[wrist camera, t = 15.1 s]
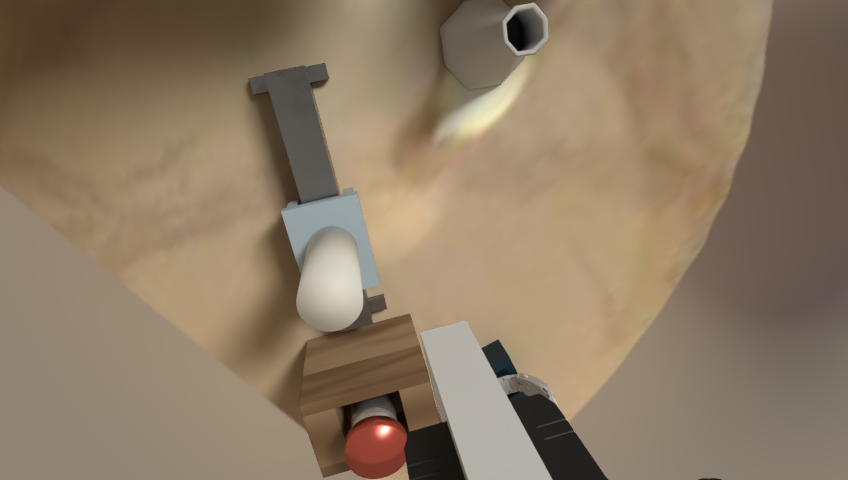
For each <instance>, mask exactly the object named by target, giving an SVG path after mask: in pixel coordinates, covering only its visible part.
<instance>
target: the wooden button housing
mask: <svg viewBox="0 0 848 480" xmlns="http://www.w3.org/2000/svg"><path fill="white" fill-rule="evenodd" d="M388 393H392V394H393V399H394V405H395V410H396V416H397V421H398V422H400V423H401V424H402V426H403V427H404V429H405V431H406V435H407V437H408V434H409V432H410V431H413V430H417V429H421V428H424V427H428V426H431V425H435V424H438V423H440V422H439V418H438V413H437V409H436V405H435V401H434V396H433V392H432V388H431V383H430V379H429V375H428V371H427V367H426V364H425V361H424V358H423V354H422V351H421V348H420V345H419V342H418V338H417V335H416V332H415V329H414V325H413V322H412V319H411V316H410V314H407V315H403V316H399V317H395V318H391V319H388V320H384V321H380V322H376V323H373V324H370V325H366V326H362V327H358V328H355V329H351V330H347V331H343V332H338V333H334V334H330V335H326V336H322V337H319V338H315V339H311V340H307V347H306V354H305V362H304V369H303V377H302V385H301V392H300V400H299V409H300V412H301V415H302V418H303V421H304V423H305V426H306V429H307V432H308V435H309V438H310V440H311V444H312V446H313V449H314V452H315V455H316V458H317V461H318V464H319V466H320V469H321V472H322V475H323V477H328V476H331V475H335V474H338V473H341V472H345V471H349V470H351V469H350V468H349V467H348V465H347V463H346V459H345V439H346V436H347V434H348V432H349V430H350V429H351V404H352V403H355V402H359V401H363V400H366V399H370V398H374V397H377V396H381V395H384V394H388Z"/></svg>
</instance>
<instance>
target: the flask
mask: <svg viewBox="0 0 848 480" xmlns="http://www.w3.org/2000/svg"><path fill="white" fill-rule="evenodd" d="M440 35H441V42H442V49H443V56H444V63H445V66H446V67H447V68H448V69H449V70H450V71H451V72H452V74H453V75H454V76H455V77H456V78H457V79H458V80H459V81H460V82H461V83H462V84H463V85H464V86H465V87H466V88H467V89H468V90H473V89H479V88H484V87H490V86H495V85H501V84H502V82H503V81H504V80H505V79H506V78H507V77H508V76H509V75H510V74H511V73H512V72H513V71H514V69H515V68H516V67H517V66H518V65H519V64H520V63H521V62H522V61H523V60H524V58H525V56H528V55H534V54H536V53H537V51H538V50H539V49H540V48H541V47H542V46H543V45H544V44H545V43H546V42H547V41H548V40H549V34H548V20H547V17H546V16H545V15H544V13H543V12H542V11H541V10H540V8H539V7H538V6H537V5H536V4H535V3H529V4H523V5H516V6H514V7H513V8H512V9H511V8H510V7H509V6H507V5H506V4H505V2H504V1H503V0H466V1H463V2H462V4H461V5H460V6H459V7H458V8H457V9H456V10H455V11H454V13H453V14H452V15H451V16H450V17H449V18H448V19H447V20H446V22H445V23H444V24H443V25H442V26H441V27H440Z"/></svg>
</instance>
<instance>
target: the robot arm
mask: <svg viewBox="0 0 848 480" xmlns="http://www.w3.org/2000/svg"><path fill="white" fill-rule="evenodd" d="M420 335H421V339H422V344H423V348H424V352H425V357H426V361H427V365H428V370H429V374H430V378H431V383H432V387H433V391H434V396H435V400H436V404H437V407H438V411H439V414H440V417H441V420H442V423H438V424H435V425H431V426H428V427H424V428H421V429H417V430H413V431H410V432H409V434H408V437H407V440H406V443H405V446H404V452H405V458H406V463H407V469H408V475H409V480H608V479H607V478H606V477H605V475H604V474H603V472H602V471H601V469H600V468H599V466H598V465H597V463H596V462H595V461H594V459H593V458H592V456H591V455H590V453H589V452H588V450H587V449H586V448H585V446H584V445H583V443H582V442H581V440H580V439H579V437H578V436H577V434H576V433H575V432H574V431H573V428H572V427H571V426H570V424H569V423H568V421H567V420H566V419H565V417H564V415H563V414H562V412H561V411H560V410H559V408H558V407H557V405H556V404H555V403H554V402H552V401H551V400H549V399H548V398H546V397H544V396H543V395H541V394H540V393H539V394H535V395H532V396H528V397H524V398H521V399H517V400H514V401H509V399H508V397H507V395H506V393H505V392H504V390H503V388H502V386H501V384H500V382H499V381H498V379H497V377H496V375H495V373H494V371H493V369H492V368H491V366H490V364H489V362H488V360H487V358H486V357H485V355H484V353H483V351H482V349H481V347H480V346H479V344H478V342H477V340H476V338H475V336H474V335H473V333H472V331H471V329H470V327H469V325H468V324H467V322H466V320H465V321H462V322H458V323H454V324H450V325H447V326H443V327H439V328H435V329H432V330H428V331H424V332H420ZM699 480H721V479H715V478H711V479H699Z"/></svg>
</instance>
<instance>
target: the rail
mask: <svg viewBox="0 0 848 480" xmlns="http://www.w3.org/2000/svg"><path fill="white" fill-rule="evenodd" d="M326 79H329V76H328V73H327V69H326V65H325V63H322V64H317V65H312V66H307V67H306V66H299V67H294V68H289V69H284V70H279V71H274V72H270V73H265V74H264V76H259V77H254V78H249V82H250V85H251V89H252V92H253V95H254V94H260V93H264V92H269V94H270V98H271V101H272V104H273V108H274V111H275V115H276V118H277V121H278V125H279V128H280V132H281V135H282V138H283V142H284V145H285V149H286V152H287V155H288V159H289V162H290V166H291V169H292V172H293V176H294V179H295V183H296V186H297V189H298V193H299V196H300V200H301V203H302V204H305V203H309V202H313V201H318V200H322V199H326V198H330V197H335V196H339V195H340V191H339V187H338V184H337V180H336V176H335V172H334V168H333V165H332V161H331V157H330V153H329V150H328V146H327V142H326V138H325V134H324V131H323V127H322V123H321V119H320V116H319V112H318V108H317V104H316V101H315V97H314V93H313V89H312V85H311V83H312V82H317V81H322V80H326ZM362 292H363V307H362V311H361V313H360V315H359V317H358V318H357V319H356V320H355V321H354V322H353V323H352V324H351V325H350V326H348V327H346V328H344V329H342V330H339V332H343V331H347V330H351V329H355V328H358V327H362V326H366V325H370V324H373V321H372V314H371V313H373V312H377V311H381V310H384V309H387V307H386V302H385V298H384V294H381V295H378V296H374V297H370V298H368V297H367V293H366V289H364V290H362Z"/></svg>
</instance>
